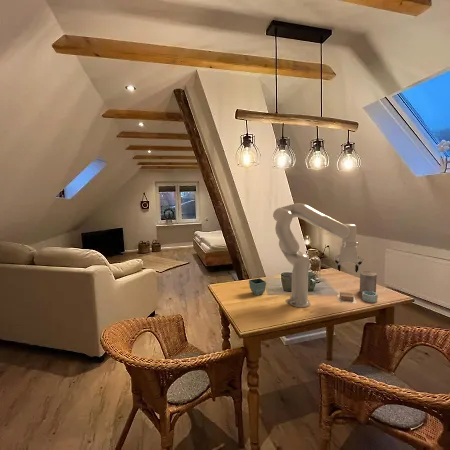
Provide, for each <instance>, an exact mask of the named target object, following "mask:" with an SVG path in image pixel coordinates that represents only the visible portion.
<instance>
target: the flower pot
mask: <svg viewBox="0 0 450 450" xmlns="http://www.w3.org/2000/svg"><path fill="white" fill-rule="evenodd" d="M248 285H249V288H250V291H251V293H252V294H253V295H255V296H260V295H263V294H264V293H265V291H266V287H267V281H266V280H264V279H262V278H261V277H259V278H253V279H249V280H248Z"/></svg>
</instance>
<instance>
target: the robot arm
mask: <svg viewBox="0 0 450 450" xmlns="http://www.w3.org/2000/svg"><path fill="white" fill-rule="evenodd" d="M272 217H273V219H274V220H275V221H276V223H275V229H274V230H275V234H276V236H277V238H278V240H279V241H278V247H279V249H280V250H281V252H282V254H283V255H284V257H285V259H286V260H287V262H288V263H289V264H290V265H292V266H293V267H292V272H291V295H290V298H288V299H285V303H286V304H288V303H289V305H291V306H292V307H297V308H307V307H309V306H310V305H311V301H310V300H309V296H308V295H309V294H308V293H309V291H308V289H309V271H310V264H311V262H310V258H309V256H307V254H306V253H304V252H302V251H300V243H299V242H298V240H297V238H296V236H294V233H293V232H292V230H291V229H292V228H291V223H292V221H293V219H295V218H299V219H301V220H303V221H304V222H307V223H308V224H311V225H312V226H313V227H316V228H319V229H321V230H323V231H324V230H325V231H327V232H329V234H330V235H332V236H333V237H337V238H339V239H342V243H341V244H342V245H340V248H339V254H338V255H335V256H333V260H334V262H335V263H336V265H337V270H338V272H341V264H342V263H350V264H351V263H352V264H355V268H354V272H355V273H358V271H359V266H360V265H362V264H363V262H364V260H365V259H364V258H363V257H361V256H359V255H358V245H359V242H357V225H356V224H353V223H342V222H340V221H338V220H336V219H334V218H332V217H330V216H329V215H326V214H324V213H322V212H320V211H319V210H317V209H315V208H314V207H311V206H310V205H308V204H306V203H299V202H295V203H291V204H289V205H288V204H287V205H285V206H281V207H278V208H276V209H275V210H274V211H273V214H272ZM337 259H338V260H337ZM358 260H359V261H358Z"/></svg>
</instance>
